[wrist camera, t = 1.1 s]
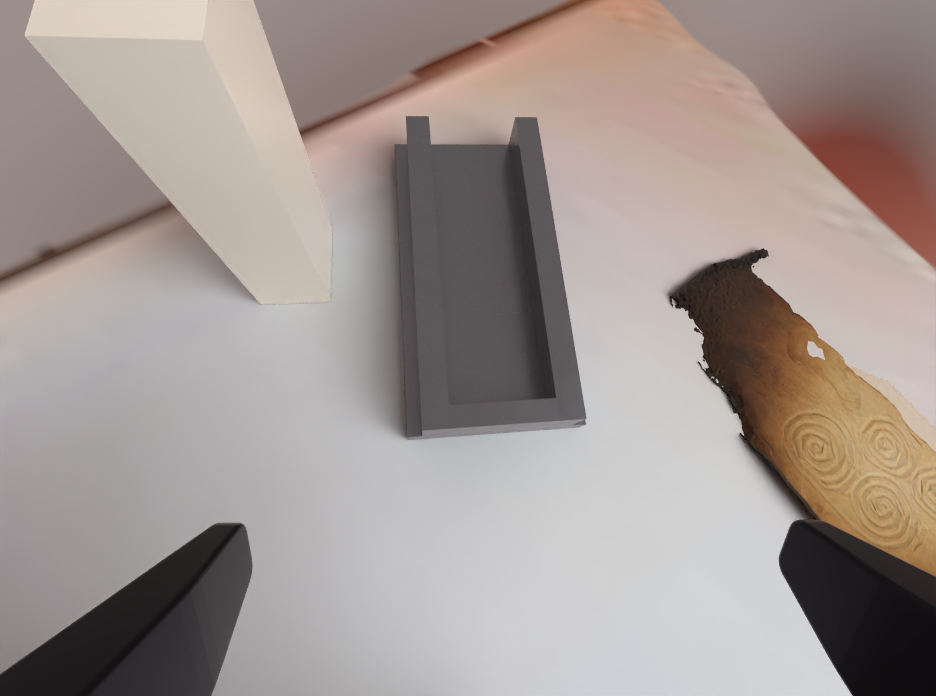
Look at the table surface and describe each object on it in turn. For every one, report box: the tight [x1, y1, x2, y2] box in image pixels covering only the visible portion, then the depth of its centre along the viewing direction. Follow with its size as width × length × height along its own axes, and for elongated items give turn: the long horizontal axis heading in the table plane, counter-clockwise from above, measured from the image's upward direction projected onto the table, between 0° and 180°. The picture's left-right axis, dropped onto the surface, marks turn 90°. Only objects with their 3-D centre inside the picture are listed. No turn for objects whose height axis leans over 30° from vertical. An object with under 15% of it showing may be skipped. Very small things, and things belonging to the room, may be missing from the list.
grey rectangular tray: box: [395, 116, 586, 440], centre depth 23 cm, size 16×8×3 cm, turn 5°
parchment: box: [670, 248, 936, 576], centre depth 23 cm, size 25×10×1 cm, turn 35°
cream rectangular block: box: [25, 0, 332, 305], centre depth 17 cm, size 4×4×14 cm
